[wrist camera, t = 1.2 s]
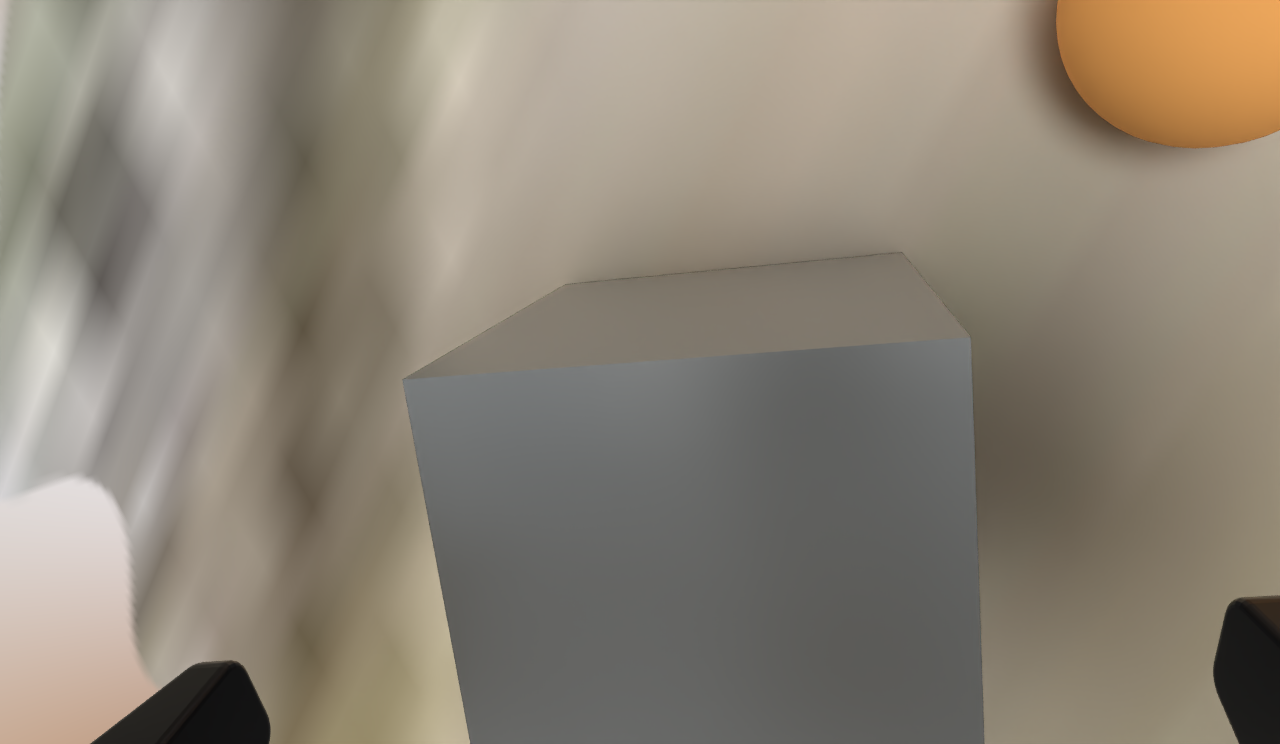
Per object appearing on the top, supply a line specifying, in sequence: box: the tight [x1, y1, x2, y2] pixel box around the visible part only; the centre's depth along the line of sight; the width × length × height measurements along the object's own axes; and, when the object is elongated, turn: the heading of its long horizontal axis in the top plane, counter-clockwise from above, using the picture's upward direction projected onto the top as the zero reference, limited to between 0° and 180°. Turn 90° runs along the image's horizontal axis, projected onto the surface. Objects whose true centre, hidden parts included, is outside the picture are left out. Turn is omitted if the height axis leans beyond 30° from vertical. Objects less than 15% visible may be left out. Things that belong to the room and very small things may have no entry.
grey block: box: [403, 252, 984, 744], centre depth 17 cm, size 8×8×9 cm
